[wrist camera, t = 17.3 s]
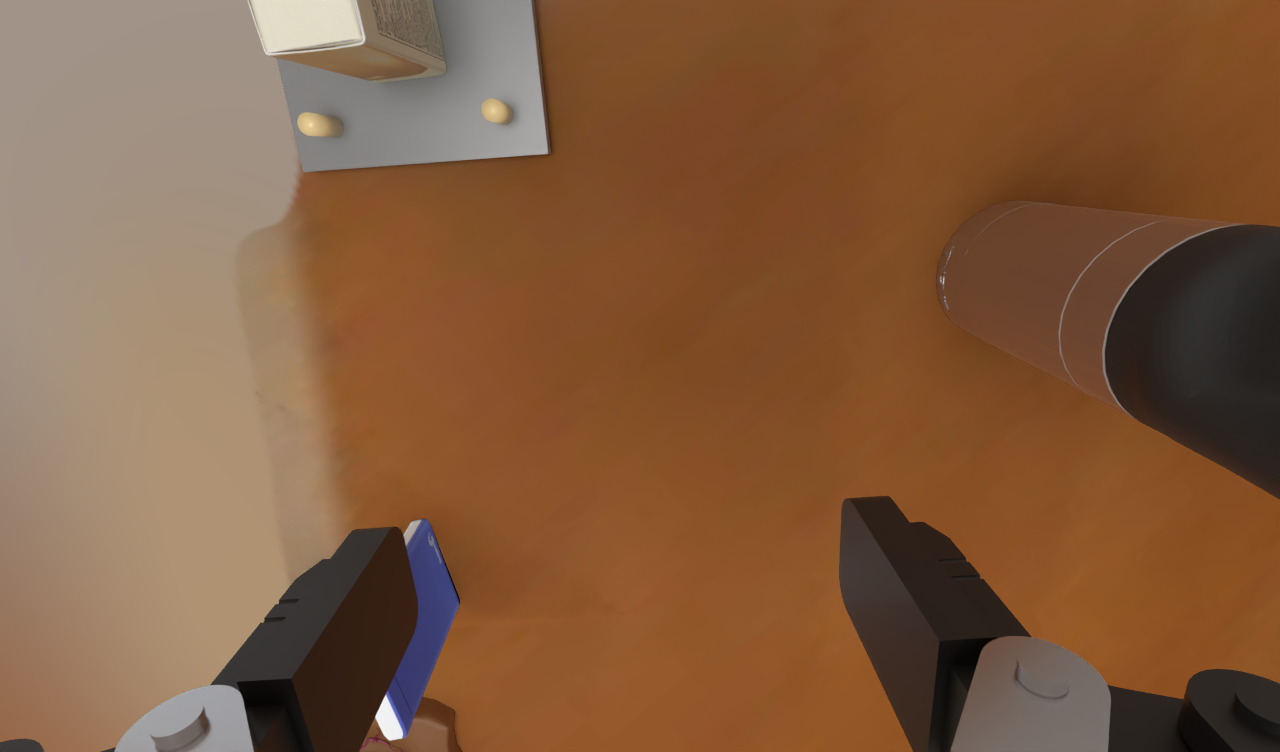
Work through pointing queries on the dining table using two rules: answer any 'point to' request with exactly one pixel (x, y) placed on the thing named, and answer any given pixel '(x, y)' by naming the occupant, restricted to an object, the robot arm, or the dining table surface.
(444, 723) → the plant
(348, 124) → the standoff plate
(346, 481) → the dining table surface
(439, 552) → the hard drive
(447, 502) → the dining table surface
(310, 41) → the skincare box
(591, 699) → the dining table surface
